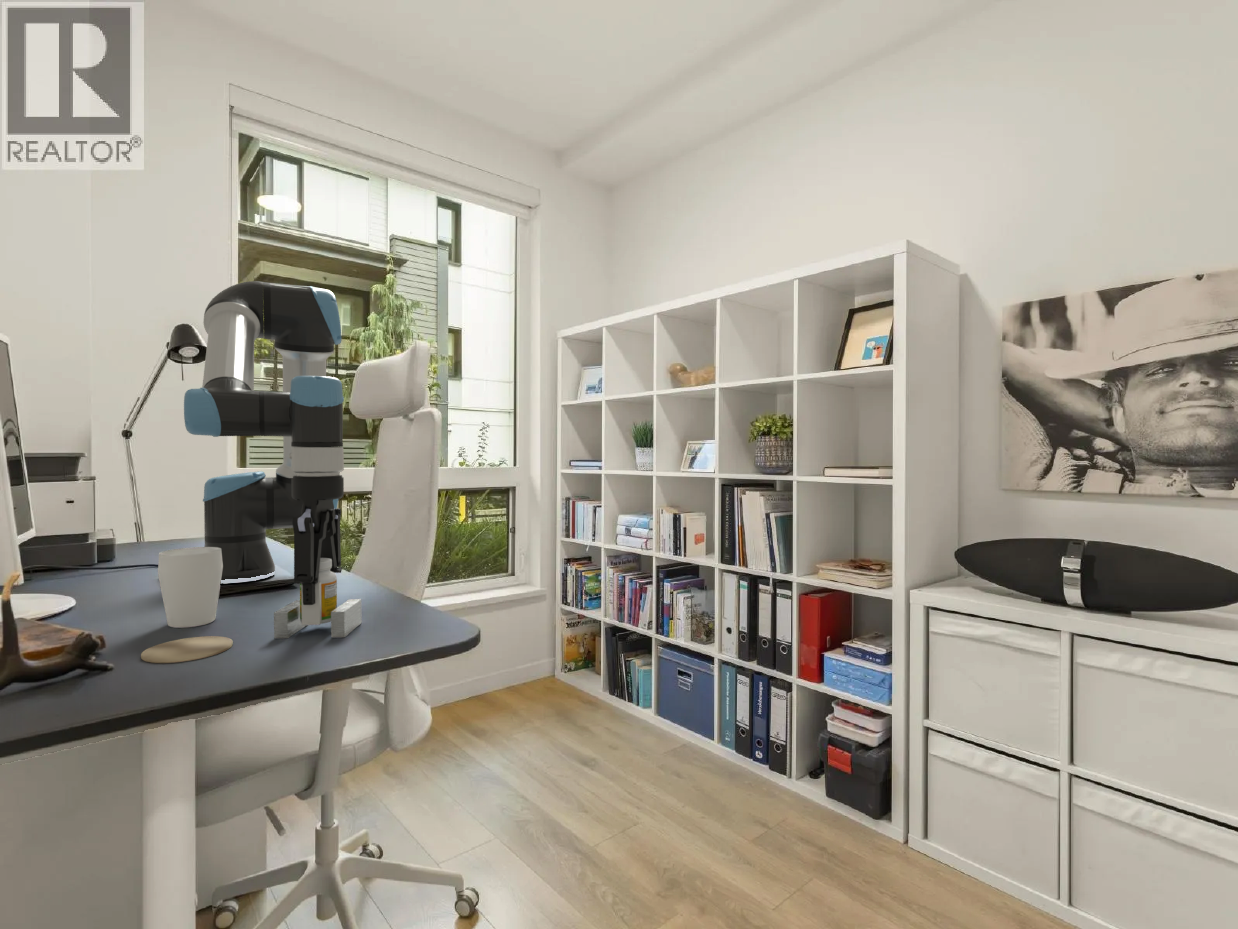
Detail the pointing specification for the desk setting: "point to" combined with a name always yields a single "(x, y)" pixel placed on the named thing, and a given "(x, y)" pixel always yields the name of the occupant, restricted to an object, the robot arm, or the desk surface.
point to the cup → (190, 585)
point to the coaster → (186, 649)
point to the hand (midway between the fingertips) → (319, 618)
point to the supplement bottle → (326, 590)
